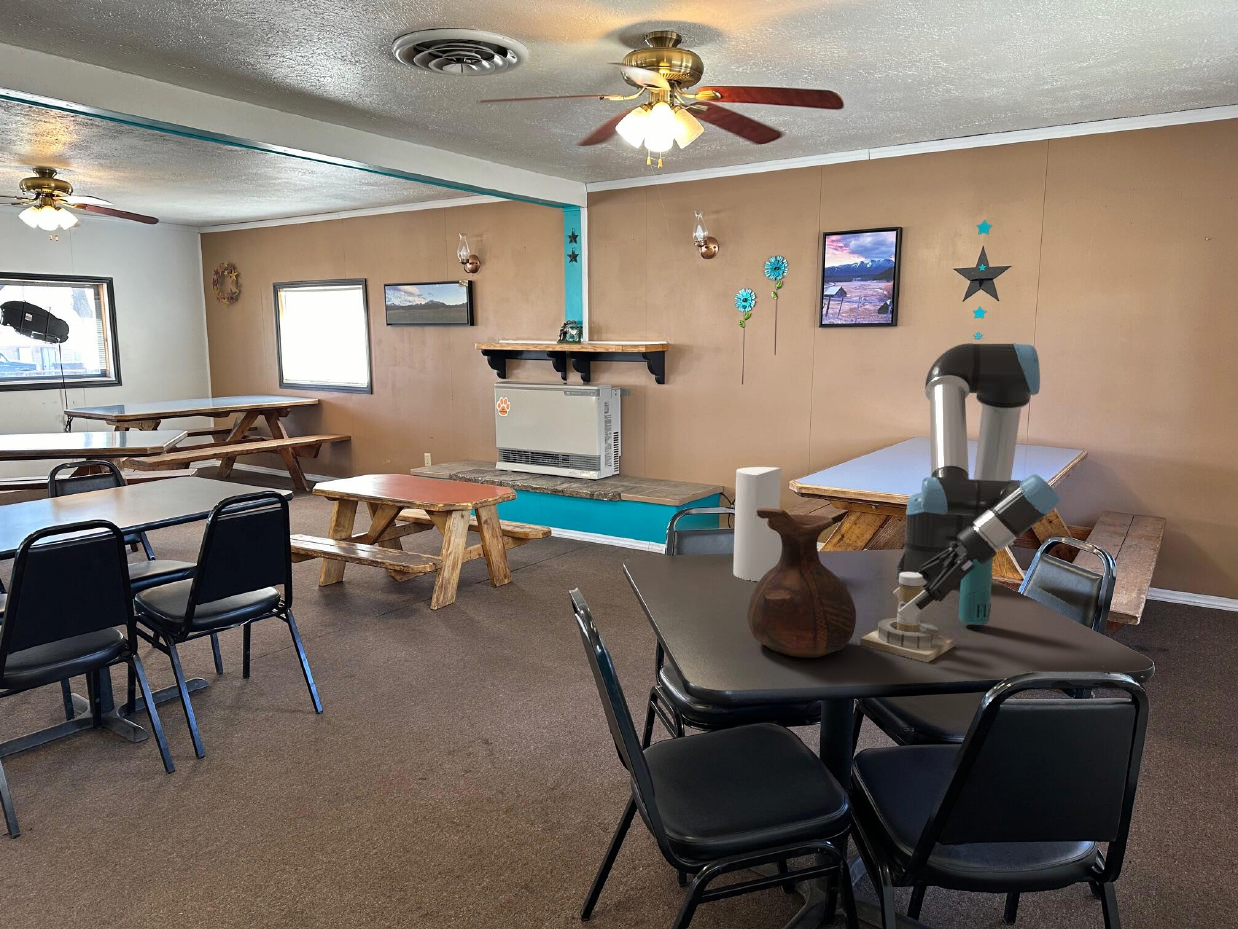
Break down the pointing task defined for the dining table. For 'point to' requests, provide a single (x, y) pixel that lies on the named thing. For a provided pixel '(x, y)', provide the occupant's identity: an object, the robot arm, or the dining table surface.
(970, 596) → the beverage bottle
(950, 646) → the plate
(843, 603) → the jug
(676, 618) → the dining table surface
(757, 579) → the white tall prism
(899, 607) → the sprinkles bottle
